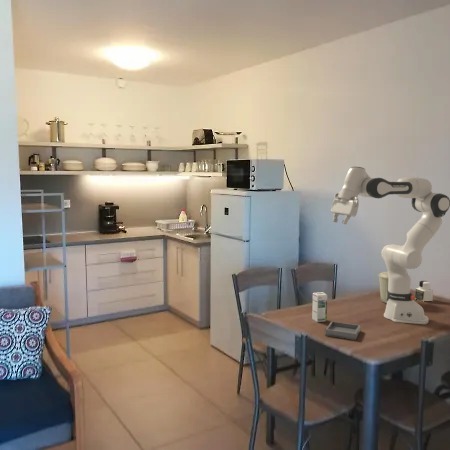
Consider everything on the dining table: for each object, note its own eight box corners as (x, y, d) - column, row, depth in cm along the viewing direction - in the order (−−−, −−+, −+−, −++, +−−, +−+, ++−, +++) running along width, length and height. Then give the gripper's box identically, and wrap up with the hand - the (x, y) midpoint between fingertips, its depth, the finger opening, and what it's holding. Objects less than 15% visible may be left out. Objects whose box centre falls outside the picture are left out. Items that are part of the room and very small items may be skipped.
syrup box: (316, 322, 240) (317, 295, 239) (311, 318, 246) (312, 292, 245) (326, 321, 242) (327, 294, 240) (321, 318, 248) (322, 291, 246)
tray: (360, 331, 228) (360, 325, 227) (355, 340, 215) (355, 333, 215) (331, 326, 234) (331, 321, 233) (325, 335, 221) (325, 329, 221)
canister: (383, 297, 292) (384, 264, 290) (412, 302, 281) (414, 268, 279) (372, 302, 279) (373, 268, 276) (402, 308, 267) (404, 272, 265)
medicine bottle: (414, 299, 288) (416, 280, 286) (424, 298, 290) (425, 279, 289) (423, 302, 281) (424, 283, 280) (432, 301, 283) (433, 282, 282)
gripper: (364, 200, 226) (355, 227, 226) (343, 198, 245) (334, 223, 245) (353, 196, 224) (344, 223, 224) (333, 194, 243) (324, 219, 244)
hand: (339, 223), depth 235 cm, fingers open, 8 cm apart
